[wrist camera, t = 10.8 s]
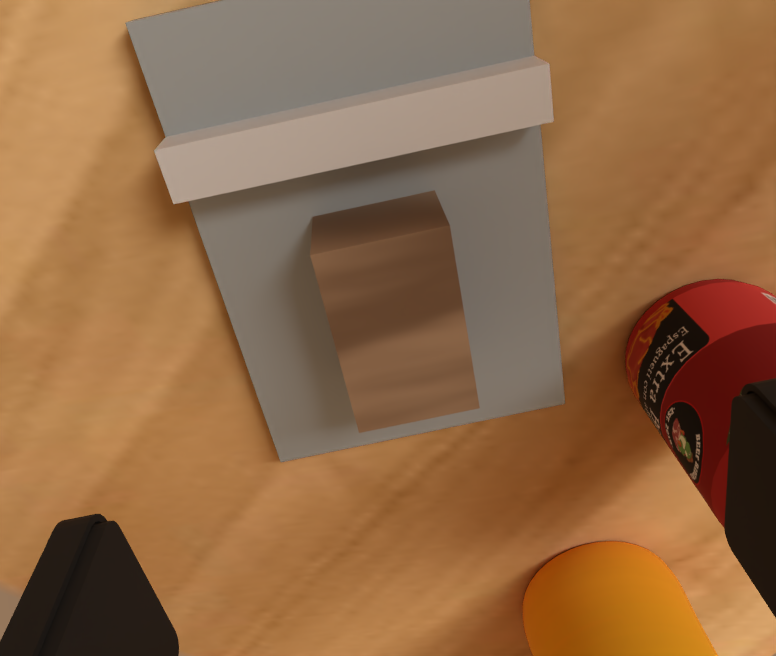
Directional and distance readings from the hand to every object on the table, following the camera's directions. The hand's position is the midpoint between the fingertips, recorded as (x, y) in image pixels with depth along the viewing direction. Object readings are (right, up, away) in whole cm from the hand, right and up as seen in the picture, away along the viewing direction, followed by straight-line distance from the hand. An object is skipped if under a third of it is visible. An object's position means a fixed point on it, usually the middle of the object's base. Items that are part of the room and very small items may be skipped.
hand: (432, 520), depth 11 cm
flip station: (-1, +7, +19) cm, 20 cm away
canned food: (+14, +2, +23) cm, 27 cm away
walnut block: (-1, +7, +16) cm, 17 cm away
